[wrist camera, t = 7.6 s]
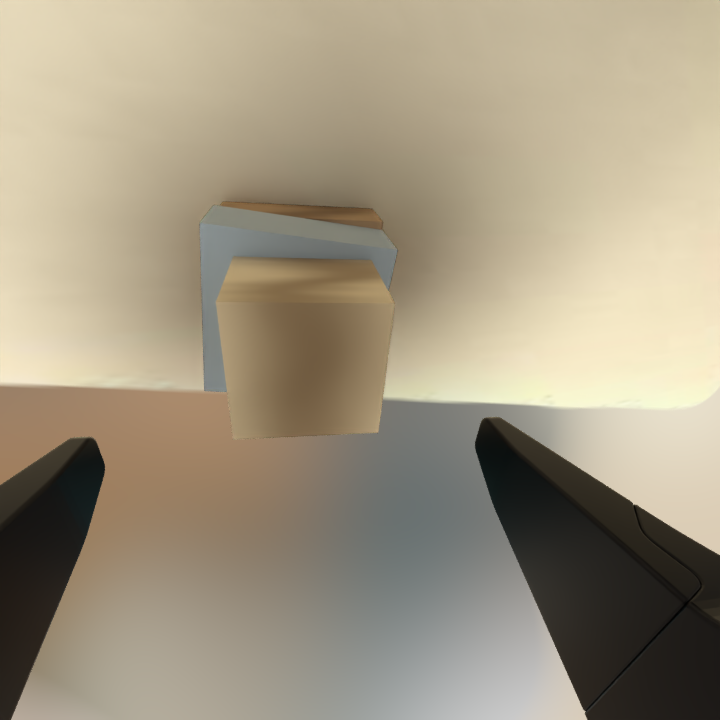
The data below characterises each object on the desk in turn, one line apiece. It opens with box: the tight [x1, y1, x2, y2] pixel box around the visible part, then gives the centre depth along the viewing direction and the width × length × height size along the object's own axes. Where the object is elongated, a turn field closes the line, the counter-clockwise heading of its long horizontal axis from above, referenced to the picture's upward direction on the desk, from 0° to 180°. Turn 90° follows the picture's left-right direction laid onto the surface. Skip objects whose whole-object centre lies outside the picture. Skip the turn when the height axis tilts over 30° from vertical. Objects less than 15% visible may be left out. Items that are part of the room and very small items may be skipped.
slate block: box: [200, 205, 398, 392], centre depth 17 cm, size 7×7×3 cm
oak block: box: [216, 256, 395, 439], centre depth 14 cm, size 5×5×4 cm
